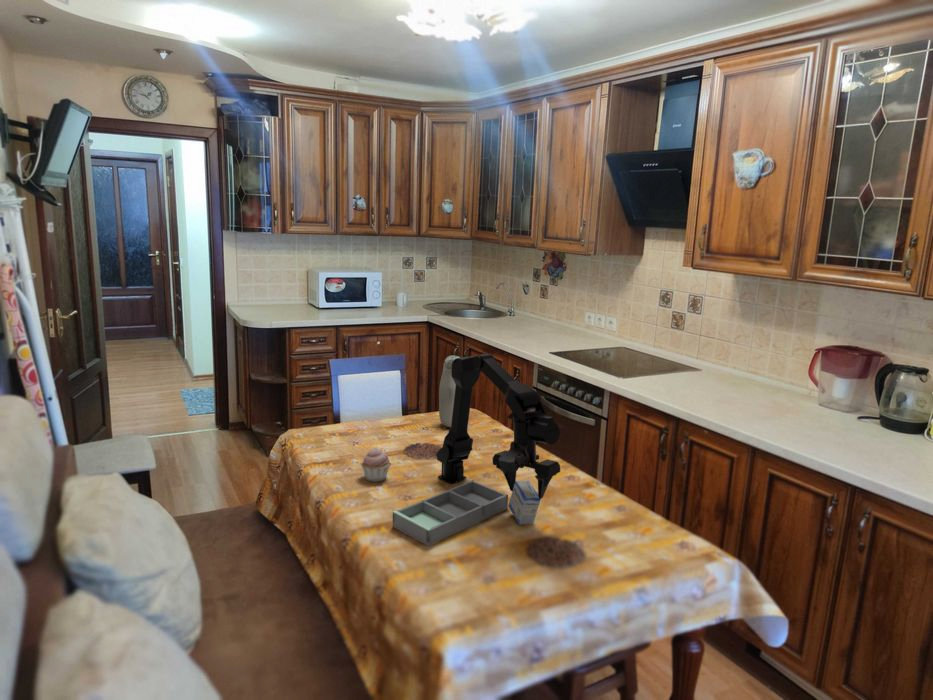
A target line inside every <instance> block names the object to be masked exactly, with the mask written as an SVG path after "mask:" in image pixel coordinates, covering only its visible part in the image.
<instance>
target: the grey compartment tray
mask: <svg viewBox="0 0 933 700" xmlns="http://www.w3.org/2000/svg"><path fill="white" fill-rule="evenodd" d="M508 505H509V495H508V494H507V493H504V492H502V491H499V490H497V489H495V488H492V487H490V486H487V485H485V484H483V483H480V482H478V481H475V480H470V481H467V482H465V483H462V484H459V485H457V486H454V487H451V488H450V489H447V490H445V491H442V492H440V493H438V494H434V495H432V496H430V497H428V498H425V499H422V500H420V501H417V502H414V503H412V504H410V505H407V506H405V507H402V508H400V509H398V510H396V509H395V510H393V511H392V527H393V528H394V529H397V530H398V531H400V532H402V533H404V534H405V535H407V536H409V537H411V538H413V539H415V540H417V541H419V543H422V544H424V545H425V546H428V547H430V546H432V545H434V544H436V543H438V542H441V541H442V540H445V539H446V538H449V537H450V536H451V537H452V535H453V536H454V534H457V533H460V532H461V531H463V530H465V529H468V528H469V527H471V526H473V525H476V524H478V523H479V522H480V523H481V522H482V521H484V520H486V519H488V518H490V517H492V516H494V515H496V514H498V513H500V512H503V511H505V510H507V509H508V508H509V506H508Z"/></svg>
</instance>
